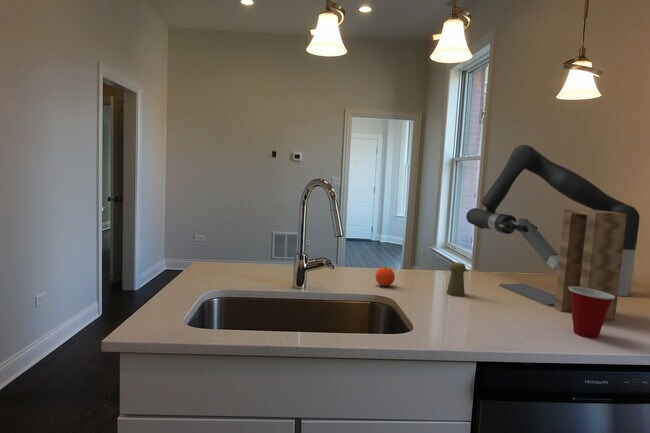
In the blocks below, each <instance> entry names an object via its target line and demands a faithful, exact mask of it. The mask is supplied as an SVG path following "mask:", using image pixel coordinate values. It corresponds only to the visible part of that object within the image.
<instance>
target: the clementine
mask: <svg viewBox="0 0 650 433" xmlns="http://www.w3.org/2000/svg"><path fill="white" fill-rule="evenodd" d="M393 270H394V268H393V267H389V266H382V267H380V268H378V269H377V271H376V273H375V279H376V280H375V281H376V282H377V284H379V285H380V286H383V287H389V286H391V285H392V284H393V283H394V281H395V279H396V278H395V277H396V276H395V273H396V275H397V272H395V271H393Z"/></svg>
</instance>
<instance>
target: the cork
mask: <svg viewBox="0 0 650 433" xmlns="http://www.w3.org/2000/svg"><path fill="white" fill-rule="evenodd" d="M466 268H467V267H466V264H464V263H463V262H452V263H450V265H449V271H450V276H449V281H448V284H447V290H446V294H447V295H448V296H451V297H459V298H460V297H462V298H463V297H465V280H464V279H465V278H464V274H465V272H466Z"/></svg>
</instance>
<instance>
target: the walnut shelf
mask: <svg viewBox="0 0 650 433" xmlns="http://www.w3.org/2000/svg"><path fill="white" fill-rule="evenodd" d="M626 218H627V214H626V213H617V212H608V211H599V210H593V209H578V208H577V209H575V208H564V210H563V219H562V227H561V228H562V230H561V239H560V248H559V267H558V270H557V279H556V287H555V288H556V289H555V295H556V297H555V306H553V307H554V310H556V311H559V312H572V306H571V296H570V290H569V287H571V286H574V287H583V288H589V289H594V290H598V291H602V292H605V293H608V294H611V295H613V296H615V299H613V300H612V302H611V304H610V306H609V308H608V311H607V314H606V317H605V320H604V321H615V320H616V314H617V313H616V312H617V306H618V305H617V304H618V297H619V296H618V288H619V279H620V271H621V262H622V253H623V244H624V235H625V227H626Z"/></svg>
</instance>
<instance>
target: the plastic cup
mask: <svg viewBox="0 0 650 433" xmlns="http://www.w3.org/2000/svg"><path fill="white" fill-rule="evenodd" d="M569 290H570V296H571V306H572V311H571V317H572V318H571V320H572V326H573V332H574V334H575V335H577V336H580V337H584V338H589V339H595V338H599V336H600V333H601V331H602V330H601V329H602V328H603V327H602V326H604V322H605V321H606V320H605V317H606V314H607V311H608V308H609V306H610V304H611V302H612V300H613V299H615V296H613V295H611V294H608V293H605V292H602V291H598V290H594V289H589V288H583V287H574V286H571V287H569Z"/></svg>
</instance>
